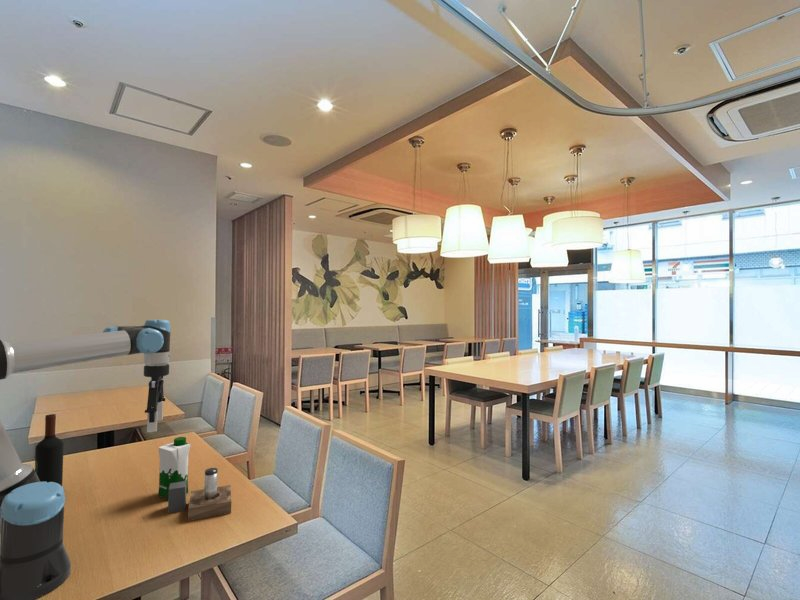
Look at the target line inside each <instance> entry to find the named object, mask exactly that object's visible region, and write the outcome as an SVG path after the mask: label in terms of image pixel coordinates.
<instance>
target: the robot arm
mask: <svg viewBox="0 0 800 600" xmlns="http://www.w3.org/2000/svg"><path fill="white" fill-rule="evenodd" d="M171 332H172V331H171V321H170V320H169V319H168V320H167V319H146V320H145V321H144V324H143V325H136V326H135V325H128V326H127V325H126V326H122V325H121V326H118V325H116V326H107V327H105V328H104V329H103V331H102V332H97V333H89V334H87V333H85V334H79V335H78V334H77V335H69V336H67V335H66V336H59V337H51V338H41V339H31V340H23V341H13V342H11V341H10V342H7V341H6V340H3V339H0V381H1V380H5V379H7V378H8V377H9V376H11V375H12V374H16V373H23V372H30V371H36V370H42V369H48V368H54V367H60V366H62V367H63V366H67V365H73V364H79V363H85V362H86V363H87V362H90V361H91V362H92V361H98V360H104V359H110V358H116V357H118V358H119V357H123V356H131V355H137V354H143V364H144V366H143V376H144V377H147V378H150V379H151V380H150V381H148V394H147V404H146V409H145V410H144V414H146V415H147V416H146V420H147V421H146V422H147V424H146V433H154V432H157V431H158V422H159V421H163V418H164V417H163V416H164V414H163V413H164V412H163V411H164V410H163V409H164V402H166V398H164V397H165V395H164V382H165V381H164V377H166V376H168V375H169V374H170V365H169V363H170V358H171V357H172V354H171V353H170V351H171V350H170V349H171V348H170V345H171V344H170V343H171ZM16 450H17V449H16V448H15V447H14V445H13V443H12V440H11V438H10V437H9V435H8V432H7V431H6V429H5V427H4V425H3V423H2V421H1V420H0V600H35V599H38V598H41V597H42V596H45V595H46V594H49V593H51V592H52V591H53V590H55V589H57V588H58V587H60V586H61V585H62V584H63V583H64V582H65V581H66V580H67V579H68V578H69V576H70V575H71V570H72V568H71V567H72V565H71V563H72V562H71V559H70V557H69V555H68V552H67V550H66V548H65V546H64V525H65V524H64V521H65V517H64V515H65V503H66V495H65V489H64V487H63V485H62V486H61V485H60V484H58V483H55V482H48V483H47V482H40V480H39V478H38V476H37V474H36V472H35V467H34V466H33V465H31V464H27V463H23V462H22V460H21V458H20V456H19V455H18V452H17V451H16Z"/></svg>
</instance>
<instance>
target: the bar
mask: <svg viewBox="0 0 800 600" xmlns="http://www.w3.org/2000/svg"><path fill="white" fill-rule="evenodd" d="M186 505H187V493H186V481H183V482H176V483H170V486H169V494H168V499H167V513H168V514H170V513H176V512H183V511H185V509H186Z"/></svg>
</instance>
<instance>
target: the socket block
mask: <svg viewBox="0 0 800 600" xmlns="http://www.w3.org/2000/svg"><path fill="white" fill-rule="evenodd" d="M231 488H232V487H231V484H229V485H223V486H217V498H215V499H212V500H204V489H205V488H203V489H197V490H191V491H190V493H189V494H190V495H189V501H188V508H187V522H188V521H189V520H190V521H195V520H200V519H205V518H211V517H210V516H212V517H216V515H217V516H221V515H220V514H222V515H226V514H225V513H228V514H230V513H229V512H231V513H232V489H231Z"/></svg>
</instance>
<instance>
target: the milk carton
mask: <svg viewBox="0 0 800 600" xmlns="http://www.w3.org/2000/svg"><path fill="white" fill-rule="evenodd" d="M191 445H192V444H190V443H187V437H186V436H180V437H179V436H178V437H175V438H174V439H173V442H170V443H167V444H164V445H161V446H159V447H157V448H158V455H159V456H158V457H159V470H158V471H159V475H158V477H159V479H158V480H159V482H158V494H157V495H158V497H160V498H164V499H165V500H168V494H169V486H170V483H176V482H183V481H186V494H188V493H189V481H188V480H189V479H188V477H189V473H188V472H189V454H190V449H191Z"/></svg>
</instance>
